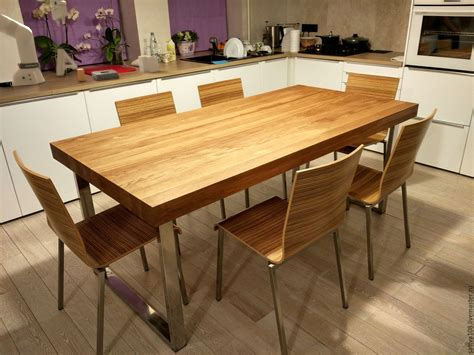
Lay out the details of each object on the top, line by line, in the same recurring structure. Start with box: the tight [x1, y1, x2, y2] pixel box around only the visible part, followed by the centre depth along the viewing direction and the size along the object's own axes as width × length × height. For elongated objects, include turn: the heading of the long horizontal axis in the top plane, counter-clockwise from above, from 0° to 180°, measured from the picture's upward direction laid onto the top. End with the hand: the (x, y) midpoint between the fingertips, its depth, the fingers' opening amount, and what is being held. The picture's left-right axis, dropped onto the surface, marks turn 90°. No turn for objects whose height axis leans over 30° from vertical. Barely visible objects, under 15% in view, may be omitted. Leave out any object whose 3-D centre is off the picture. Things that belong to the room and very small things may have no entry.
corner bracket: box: [137, 54, 160, 73], centre depth 318 cm, size 11×11×12 cm
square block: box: [76, 68, 86, 82], centre depth 289 cm, size 4×4×8 cm
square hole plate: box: [91, 69, 120, 81], centre depth 298 cm, size 16×16×4 cm
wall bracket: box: [56, 48, 78, 77], centre depth 324 cm, size 22×4×30 cm
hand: (61, 25), depth 282 cm, fingers open, 8 cm apart
